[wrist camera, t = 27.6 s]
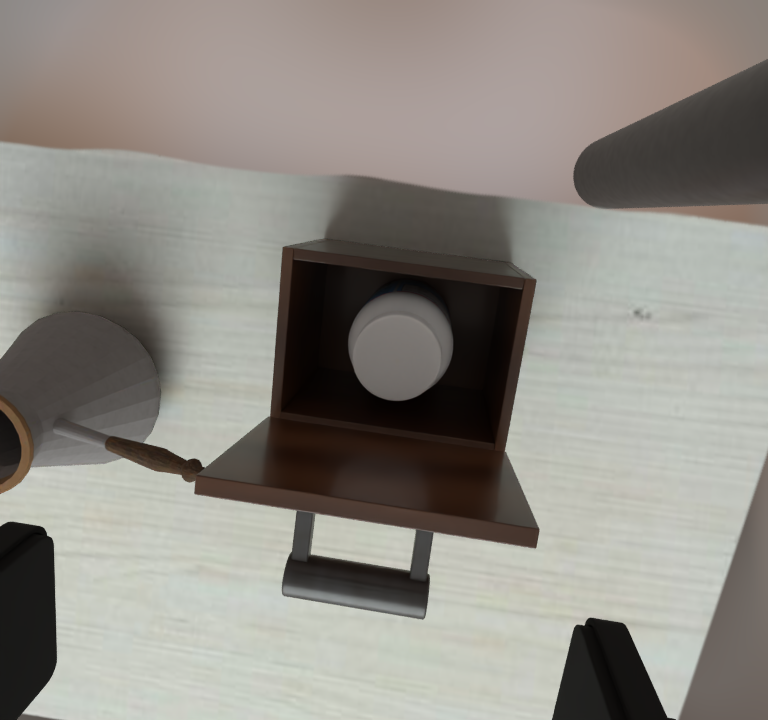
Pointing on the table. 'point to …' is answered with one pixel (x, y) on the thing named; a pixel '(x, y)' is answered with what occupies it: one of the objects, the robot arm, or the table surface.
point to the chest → (345, 300)
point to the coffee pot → (79, 399)
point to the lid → (371, 502)
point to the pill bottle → (401, 340)
